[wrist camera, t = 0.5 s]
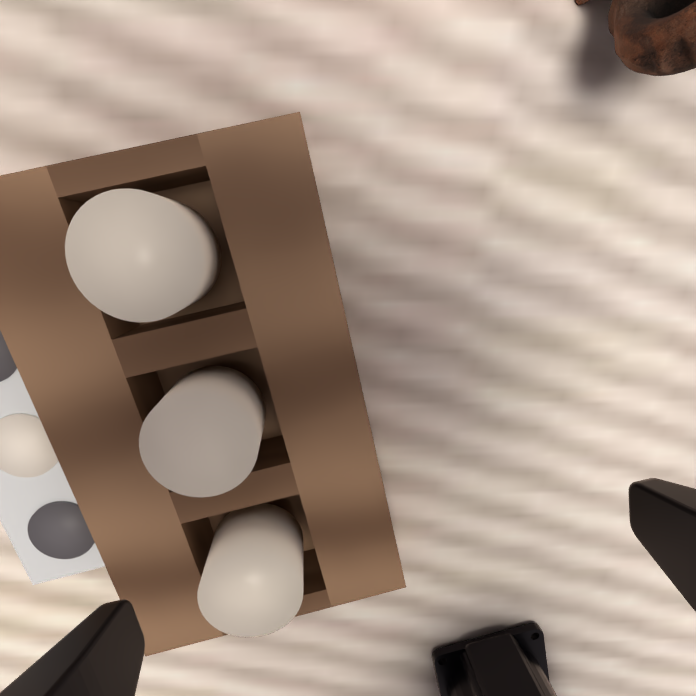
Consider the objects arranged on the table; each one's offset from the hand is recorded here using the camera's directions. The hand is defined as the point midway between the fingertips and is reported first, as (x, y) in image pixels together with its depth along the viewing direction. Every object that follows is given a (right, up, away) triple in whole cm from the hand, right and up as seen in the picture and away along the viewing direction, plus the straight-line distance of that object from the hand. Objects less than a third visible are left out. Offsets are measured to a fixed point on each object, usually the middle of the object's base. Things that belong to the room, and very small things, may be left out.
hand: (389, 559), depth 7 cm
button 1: (-8, +7, +8) cm, 13 cm away
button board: (-6, +2, +12) cm, 14 cm away
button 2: (-5, -5, +12) cm, 14 cm away
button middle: (-6, +1, +10) cm, 12 cm away
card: (-15, 0, +12) cm, 19 cm away
